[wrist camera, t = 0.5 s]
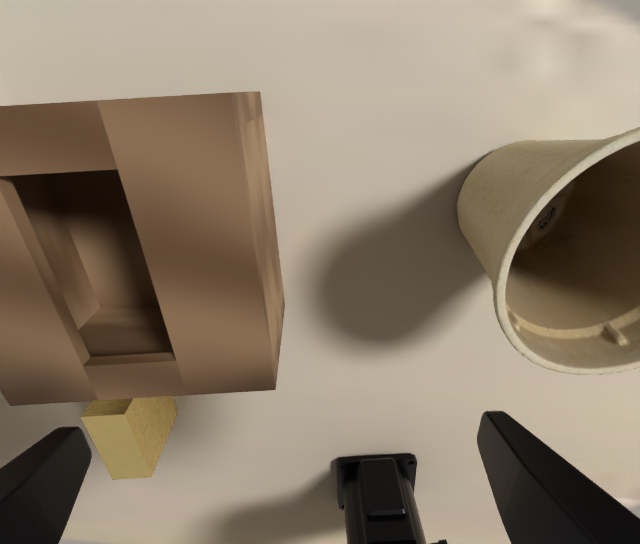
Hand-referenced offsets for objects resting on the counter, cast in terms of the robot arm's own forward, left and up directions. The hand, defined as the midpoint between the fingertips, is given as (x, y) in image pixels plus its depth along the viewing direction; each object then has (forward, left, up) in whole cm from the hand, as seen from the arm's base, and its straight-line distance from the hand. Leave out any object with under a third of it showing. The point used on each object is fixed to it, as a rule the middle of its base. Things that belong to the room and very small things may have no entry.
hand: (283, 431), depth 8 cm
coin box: (+1, +7, -13) cm, 15 cm away
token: (-11, +11, -14) cm, 21 cm away
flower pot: (+1, -12, -14) cm, 18 cm away
